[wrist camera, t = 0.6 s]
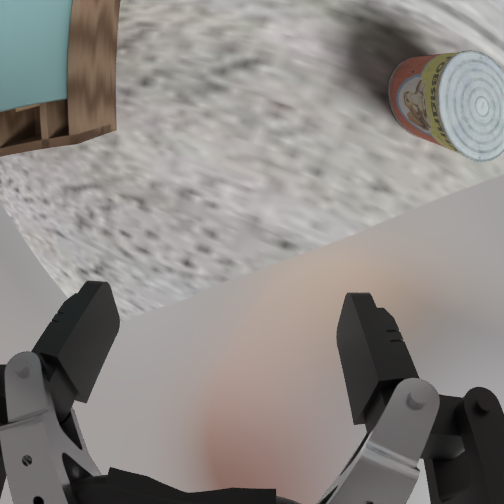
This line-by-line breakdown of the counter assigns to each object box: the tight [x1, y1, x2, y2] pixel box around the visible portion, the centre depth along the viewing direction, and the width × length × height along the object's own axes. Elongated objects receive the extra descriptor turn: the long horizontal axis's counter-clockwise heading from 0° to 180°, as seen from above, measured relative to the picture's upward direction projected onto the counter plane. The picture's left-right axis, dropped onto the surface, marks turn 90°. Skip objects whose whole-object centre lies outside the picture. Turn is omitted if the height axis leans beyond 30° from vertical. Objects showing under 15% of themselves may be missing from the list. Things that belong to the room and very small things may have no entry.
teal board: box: [0, 0, 73, 112], centre depth 18 cm, size 14×2×20 cm, turn 178°
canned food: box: [388, 51, 504, 162], centre depth 25 cm, size 11×11×12 cm
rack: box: [0, 0, 120, 156], centre depth 24 cm, size 24×18×10 cm
